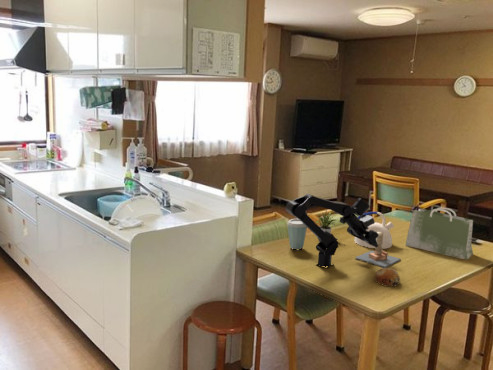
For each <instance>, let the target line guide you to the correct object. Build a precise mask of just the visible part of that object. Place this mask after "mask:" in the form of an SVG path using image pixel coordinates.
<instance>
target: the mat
mask: <svg viewBox="0 0 493 370" xmlns="http://www.w3.org/2000/svg"><path fill="white" fill-rule="evenodd" d="M369 253H375V250H370V251H367V252H365V253H363V254H360V255H357V256H355V257H354V259H355V258H356V259H355V260H357V259H359V260H358V261H360V260H362V261H361V262H363V261H366V262H365V263H367V262H368V263H367V264H370V263H372V264H371V265H373V264H374V265H373V266H376V265H377V267H380V268H389V267H391V266H392V265H394V264H396V263H398V262H400V261H401V258H399V257H395V256H392V255H387V259H385V260H373V259H371V258H369Z"/></svg>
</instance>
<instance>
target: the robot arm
mask: <svg viewBox="0 0 493 370" xmlns="http://www.w3.org/2000/svg"><path fill="white" fill-rule="evenodd" d="M311 206H318V207H320V208H323V209H326V210H329V211H332V212H334V213H335V214H336V215H340V216H341V217H339V220H338V221H339V223H340V224H343V225H345V224H346V225H347V226H348V227H347V229H346V232H347V233H348V234H349V235H351V236H353V237H354V238H355V237H357V238H359V239H361V240H363V241H365V242H366V243H368V244H370V245H372V246H374V247H377V246H378V245H377V241H376V238H377V237H378V236H379V234H378V233H377V232H375V231H373V230H370V231H366V230H367V229H368V226H370V225H372V224H374V223H375V220H374V217H373V216H371V215H366V216H365V215H364V213H367V211H368V210H369V209H370V207H371V206H370V205H369V203H367V202H366V201H365V200H363V198H360V197H358V198H357V199H356V201H355V202H354V203H353V204H352V205H350V204H347V203H345V202H342V201H331V200H328V199H324V198H321V197H318V196H314V195H313V194H311V193H307V194H305V195H303V196H300V197H297V198H295V199H293V200H289V201H287V203H286V205H285V211H286V212H287V213H289V214H290V215H291V216H293V217H295V219H297V218H298V219H299V220H300V221H301V222H302V223H303V224H304V225H305V226H306V227H307V229H308V230H310V232H311V233H313V235H315V236H316V238H317V240H318V243H317V244H315V249H316V251H318V256H317V258H318V259H317V263H318V265H320V266H319V267H321V266H325V267H326V266H328V268H330V267H329V266H331V263H332V256H335V254H336V252H337V249H338V248H339V241H338V238H337V237H335V236H334V234H333V233H329V232H328V231H325V232H324V231H323V230H322V229H321V228H320V227H319V226H320V225H318V223H317V222H316V221H314V220H313V219H312V218H311V217H310V216H309V215H308V213H307V210H308V209H309V208H310V207H311ZM358 216H360V219H358V218H357V217H358ZM364 235H365V236H364ZM332 264H333V266H334V263H332ZM318 265H317V266H318ZM331 267H332V266H331Z"/></svg>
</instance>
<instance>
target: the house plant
mask: <svg viewBox="0 0 493 370" xmlns="http://www.w3.org/2000/svg"><path fill="white" fill-rule="evenodd" d="M327 211H328V209H326V210H325V213H324V212H323V211H322V212H320V211H319V212H317V213H314V214H316V215H317V216H318V217H319V218H318V220H319V221H318V220H316V221H315V223H319V224H320V225H318V226H319V227H320V228H321V229H322V230H323V231H324V232H325V231H328V232H329V233H331V232H332V227H331V225H333V226H336V225H338V223H337V222H335V221H337V219H333V218H334V217H336V214H334V215H332V213H333V211H332V210H330V211H329V213H328V214H327ZM331 215H332V216H331ZM331 234H332V233H331Z"/></svg>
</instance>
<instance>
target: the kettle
mask: <svg viewBox="0 0 493 370" xmlns="http://www.w3.org/2000/svg"><path fill="white" fill-rule="evenodd" d="M364 215H365V216H366V215H370V216H371V215H378V216H380V217H381V218H382V223H379V222H375V221H374V222H375V223H374V224H372V225H370V226H368V229H367V230H366V231H370V230H373V231H375V232H383V233H384V234H383V244H382V250H385V249H390V248H391V247H392V246H393V237H392V234H391V232H390V230H391V229H392V228H393V227H395V226H394V224H393V222H391V221H389V222H388V223H387V224H386V222H387V219H386V217H385V214H383V213H382V212H379V211H368V212H365V213H364ZM357 218H358V219H359V220H360V215H359V216H357ZM364 236H365V235H364ZM354 241H355V242H354ZM354 241H353V242H354V243H355V244H356V243H357V245H358V244H359V245H358V246H360V245H361V247H363V246H365V247H364V248H367V247H368V248H367V249H373V248H375V247H374V246H372V245H370V244H368V243H366V242H365V241H363V240H361V239H359V238H357V237H355V236H354Z"/></svg>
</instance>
